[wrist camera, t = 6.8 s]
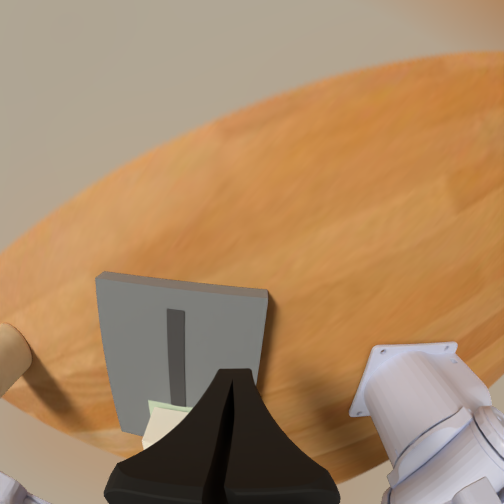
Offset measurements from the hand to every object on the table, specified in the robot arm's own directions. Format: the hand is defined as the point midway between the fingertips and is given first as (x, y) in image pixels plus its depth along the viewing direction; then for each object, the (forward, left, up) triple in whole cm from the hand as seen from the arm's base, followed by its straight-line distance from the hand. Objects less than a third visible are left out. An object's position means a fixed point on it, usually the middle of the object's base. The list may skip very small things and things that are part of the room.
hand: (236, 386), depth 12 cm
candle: (+23, +9, -10) cm, 27 cm away
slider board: (+4, +7, -9) cm, 13 cm away
